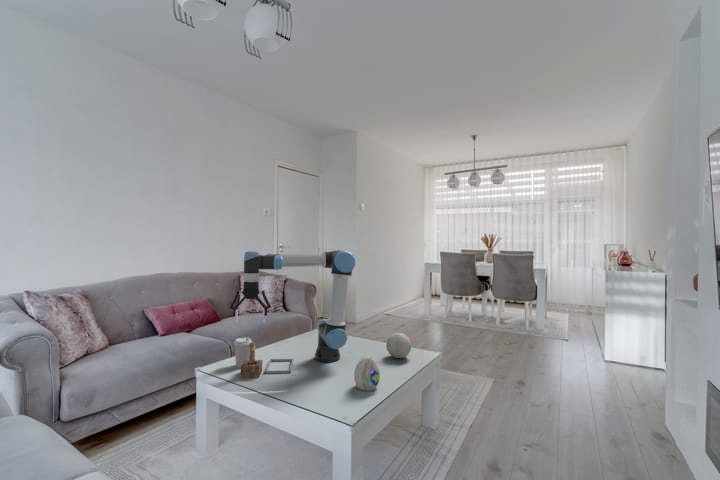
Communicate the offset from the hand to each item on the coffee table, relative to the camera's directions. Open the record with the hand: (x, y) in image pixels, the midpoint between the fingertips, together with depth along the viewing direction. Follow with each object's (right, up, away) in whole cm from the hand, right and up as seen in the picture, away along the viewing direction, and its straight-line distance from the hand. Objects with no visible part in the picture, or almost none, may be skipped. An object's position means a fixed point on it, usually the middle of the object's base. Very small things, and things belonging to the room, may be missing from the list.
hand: (250, 322), depth 178 cm
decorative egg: (+60, -28, -13) cm, 68 cm away
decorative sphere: (+80, -29, +31) cm, 91 cm away
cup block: (+1, -27, -3) cm, 27 cm away
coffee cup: (-7, -27, +9) cm, 29 cm away
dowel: (+2, -26, -3) cm, 26 cm away
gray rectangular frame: (+13, -27, +9) cm, 31 cm away
